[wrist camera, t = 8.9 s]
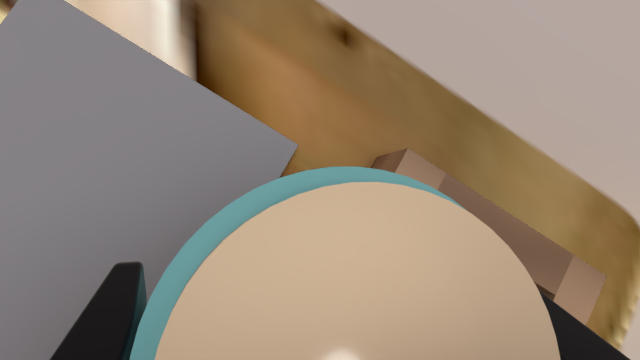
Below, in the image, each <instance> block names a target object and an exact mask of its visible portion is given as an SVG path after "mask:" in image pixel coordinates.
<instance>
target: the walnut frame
mask: <svg viewBox="0 0 640 360" xmlns="http://www.w3.org/2000/svg"><path fill="white" fill-rule="evenodd" d="M372 169H380V170H385V171H389V172H392V173H396V174H400V175H404V176H407V177H410V178H412V179H414V180H417V181H419V182H422V183H424V184H426V185H429V186H431V187H432V188H434V189H436V190H438V191H439V192H441V193H443V194H445V195H446V196H448V197H450V198H451V199H453V200H454V201H455V202H457V203H458V204H459V205H460V206H462V207H463V208H464V209H466V210H467V211H468V212H470V213H471V214H473V215H474V216H475V217H477V218H478V219H479V220H481V221H482V222H483V223H484V224H486V225H487V226H488V227H490V228H491V229H492V230H493V231H494V232H495V233H496V234H497V235H498V236H499V237H500V238H501V239H502V240H503V241H504V242H505V243H506V244H507V245H508V246H509V247H510V249H511V250H512V251H513V252H514V254H515V255H516V256H517V257H518V259H519V260H520V261H521V263H522V264H523V265H524V267H525V268H526V270H527V272H528V273H529V275H530V277H531V278H532V280H533V282H534V283H535V285H536V286H537V288H538V290H539V291H541V292H542V293H543V294H545V295H546V296H547V297H549V298H550V299H551V300H552V301H554V302H555V303H556V304H558V305H559V306H560V307H562V308H563V309H564V310H566V311H567V312H568V313H570V314H571V315H572V316H574V317H575V318H576V319H577V320H579V321H580V322H581V323H583V324H584V325H585V326H586V324H587V321H588V319H589V317H590V314H591V312H592V310H593V307H594V305H595V303H596V301H597V298H598V296H599V294H600V291H601V289H602V287H603V284H604V282H605V280H606V278H607V276H606V275H604V274H602V273H601V272H599V271H598V270H596V269H595V268H593V267H592V266H590V265H588V264H587V263H585V262H584V261H582V260H581V259H579V258H578V257H576V256H574V255H573V254H571V253H570V252H568V251H567V250H565V249H564V248H562V247H560V246H559V245H557V244H556V243H554V242H553V241H551V240H550V239H548V238H546V237H545V236H543V235H542V234H540V233H539V232H537V231H536V230H534V229H533V228H531V227H529V226H528V225H526V224H525V223H523V222H522V221H520V220H519V219H517V218H515V217H514V216H512V215H511V214H509V213H508V212H506V211H505V210H503V209H501V208H500V207H498V206H497V205H495V204H494V203H492V202H491V201H489V200H487V199H486V198H484V197H483V196H481V195H480V194H478V193H477V192H475V191H473V190H472V189H470V188H469V187H467V186H466V185H464V184H463V183H461V182H459V181H458V180H456V179H455V178H453V177H452V176H450V175H449V174H447V173H445V172H444V171H442V170H441V169H439V168H438V167H436V166H435V165H433V164H432V163H430V162H428V161H427V160H425V159H424V158H422V157H421V156H419V155H418V154H416V153H414V152H413V151H411V150H410V149H408V148H407V149H404V150H401V151H397V152H394V153H390V154H387V155H384V156H380V157H377V159H376V160H375V162H374V164H373V166H372Z"/></svg>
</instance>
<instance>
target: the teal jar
mask: <svg viewBox="0 0 640 360" xmlns="http://www.w3.org/2000/svg"><path fill="white" fill-rule="evenodd" d="M130 360H561V359H560V354H559V349H558V344H557V339H556V335H555V332H554V329H553V326H552V322H551V319H550V316H549V313H548V310H547V308H546V306H545V304H544V302H543V299H542V297H541V295H540V293H539V290H538V288H537V286H536V285H535V283H534V282H533V280H532V278H531V277H530V275H529V273H528V272H527V270H526V268H525V267H524V265H523V264H522V263H521V261H520V260H519V259H518V257H517V256H516V255H515V254H514V252H513V251H512V250H511V249H510V247H509V246H508V245H507V244H506V243H505V242H504V241H503V240H502V239H501V238H500V237H499V236H498V235H497V234H496V233H495V232H494V231H493V230H492V229H491V228H490V227H488V226H487V225H486V224H484V223H483V222H482V221H481V220H479V219H478V218H477V217H475V216H474V215H473V214H471V213H470V212H468V211H467V210H466V209H464V208H463V207H462V206H460V205H459V204H458V203H457V202H455V201H454V200H453V199H451V198H450V197H448V196H446V195H445V194H443V193H441V192H439V191H438V190H436V189H434V188H432V187H431V186H429V185H426V184H424V183H422V182H419V181H417V180H414V179H412V178H410V177H407V176H404V175H400V174H396V173H392V172H389V171H385V170H380V169H372V168H364V167H327V168H320V169H313V170H306V171H302V172H299V173H295V174H292V175H288V176H285V177H281V178H278V179H276V180H273V181H271V182H269V183H267V184H264V185H262V186H260V187H257V188H255V189H253V190H251V191H250V192H248V193H246V194H245V195H243V196H241V197H240V198H238V199H236V200H235V201H233V202H231V203H230V204H228V205H227V206H226V207H224V208H223V209H222V210H221V211H219V212H218V213H217V214H216V215H214V216H213V217H212V218H211V219H209V220H208V221H207V222H206V223H205V224H204V225H203V226H202V227H201V228H200V229H199V230H198V231H197V232H196V233H195V234H194V235H193V236H192V237H191V238H190V239H189V240H188V241H187V242H186V243H185V244H184V246H183V247H182V248H181V250H180V251H179V252H178V254H177V255H176V256H175V258H174V259H173V260H172V262H171V263H170V264H169V266H168V267H167V268H166V270H165V272H164V273H163V275H162V277H161V279H160V280H159V282H158V284H157V286H156V288H155V289H154V291H153V293H152V295H151V296H150V299H149V301H148V304H147V306H146V309H145V311H144V313H143V316H142V318H141V321H140V323H139V326H138V329H137V333H136V337H135V340H134V344H133V348H132V351H131V355H130Z"/></svg>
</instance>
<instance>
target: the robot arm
mask: <svg viewBox="0 0 640 360" xmlns="http://www.w3.org/2000/svg"><path fill="white" fill-rule="evenodd" d="M539 293H540V295H541V297H542V299H543V302H544V304H545V306H546V308H547V310H548V313H549V316H550V319H551V322H552V326H553V329H554V332H555V335H556V339H557V344H558V349H559V354H560V359H561V360H630V359H629V358H627V357H626V356H625V355H624V354H622V353H621V352H620V351H618V350H617V349H616V348H614V347H613V346H612V345H610V344H609V343H608V342H606V341H605V340H604V339H603V338H601V337H600V336H599V335H597V334H596V333H595V332H593V331H592V330H591V329H589V328H588V327H587V326H585V325H584V324H583V323H581V322H580V321H579V320H577V319H576V318H575V317H574V316H572V315H571V314H570V313H568V312H567V311H566V310H564V309H563V308H562V307H560V306H559V305H558V304H556V303H555V302H554V301H552V300H551V299H550V298H549V297H547V296H546V295H545V294H543V293H542V292H541V291H539ZM146 306H147V294H146V286H145V277H144V269H143V264H142V263H141V262H139V261H134V262H119V263H117V264H115V265H114V266H113V268H112V269H111V270H110V272H109V273H108V275H107V276H106V278H105V279H104V281H103V282H102V284H101V285H100V286H99V288H98V289H97V291H96V292H95V294H94V295H93V297H92V298H91V300H90V301H89V302H88V304H87V305H86V307H85V308H84V310H83V311H82V313H81V314H80V316H79V317H78V318H77V320H76V321H75V323H74V324H73V326H72V327H71V329H70V330H69V332H68V333H67V334H66V336H65V337H64V339H63V340H62V342H61V343H60V345H59V346H58V348H57V349H56V350H55V352H54V353H53V355H52V356H51V358H50V359H49V360H130V355H131V351H132V348H133V344H134V340H135V337H136V333H137V329H138V326H139V323H140V321H141V318H142V316H143V313H144V311H145V309H146Z"/></svg>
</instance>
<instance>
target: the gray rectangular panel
mask: <svg viewBox="0 0 640 360" xmlns="http://www.w3.org/2000/svg"><path fill="white" fill-rule="evenodd" d="M297 147H298V144H296V143H294V142H293V141H291V140H290V139H288V138H286V137H285V136H283V135H281V134H280V133H278V132H277V131H275V130H273V129H272V128H270V127H268V126H267V125H265V124H264V123H262V122H260V121H259V120H257V119H255V118H254V117H252V116H251V115H249V114H247V113H246V112H244V111H242V110H241V109H239V108H238V107H236V106H234V105H233V104H231V103H230V102H228V101H226V100H225V99H223V98H221V97H220V96H218V95H217V94H215V93H213V92H212V91H210V90H208V89H207V88H205V87H204V86H202V85H200V84H199V83H197V82H195V81H194V80H192V79H191V78H189V77H187V76H186V75H184V74H182V73H181V72H179V71H178V70H176V69H174V68H173V67H171V66H169V65H168V64H166V63H165V62H163V61H161V60H160V59H158V58H156V57H155V56H153V55H152V54H150V53H148V52H147V51H145V50H143V49H142V48H140V47H139V46H137V45H135V44H134V43H132V42H130V41H129V40H127V39H126V38H124V37H122V36H121V35H119V34H118V33H116V32H114V31H113V30H111V29H109V28H108V27H106V26H105V25H103V24H101V23H100V22H98V21H96V20H95V19H93V18H92V17H90V16H88V15H87V14H85V13H83V12H82V11H80V10H79V9H77V8H75V7H74V6H72V5H70V4H69V3H67V2H66V1H64V0H18V1H17V3H16V4H15V5H14V7H13V8H12V10H11V11H10V12H9V14H8V15H7V16H6V18H5V19H4V20H3V22H2V23H1V24H0V360H49V359H50V358H51V356H52V355H53V353H54V352H55V350H56V349H57V348H58V346H59V345H60V343H61V342H62V340H63V339H64V337H65V336H66V334H67V333H68V332H69V330H70V329H71V327H72V326H73V324H74V323H75V321H76V320H77V318H78V317H79V316H80V314H81V313H82V311H83V310H84V308H85V307H86V305H87V304H88V302H89V301H90V300H91V298H92V297H93V295H94V294H95V292H96V291H97V289H98V288H99V286H100V285H101V284H102V282H103V281H104V279H105V278H106V276H107V275H108V273H109V272H110V270H111V269H112V268H113V266H114V265H115V264H117V263H119V262H134V261H139V262H141V263H142V264H143V269H144V277H145V286H146V294H147V304H148V301H149V299H150V296H151V295H152V293H153V291H154V289H155V288H156V286H157V284H158V282H159V280H160V279H161V277H162V275H163V273H164V272H165V270H166V268H167V267H168V266H169V264H170V263H171V262H172V260H173V259H174V258H175V256H176V255H177V254H178V252H179V251H180V250H181V248H182V247H183V246H184V244H185V243H186V242H187V241H188V240H189V239H190V238H191V237H192V236H193V235H194V234H195V233H196V232H197V231H198V230H199V229H200V228H201V227H202V226H203V225H204V224H205V223H206V222H207V221H208V220H209V219H211V218H212V217H213V216H214V215H216V214H217V213H218V212H219V211H221V210H222V209H223V208H224V207H226V206H227V205H228V204H230V203H231V202H233V201H235V200H236V199H238V198H240V197H241V196H243V195H245V194H246V193H248V192H250V191H251V190H253V189H255V188H257V187H260V186H262V185H264V184H267V183H269V182H271V181H273V180H276V179H278V178H280V176H281V174H282V172H283V171H284V169H285V167H286V165H287V164H288V162H289V160H290V159H291V157H292V155H293V153H294V152H295V150H296V148H297Z"/></svg>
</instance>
